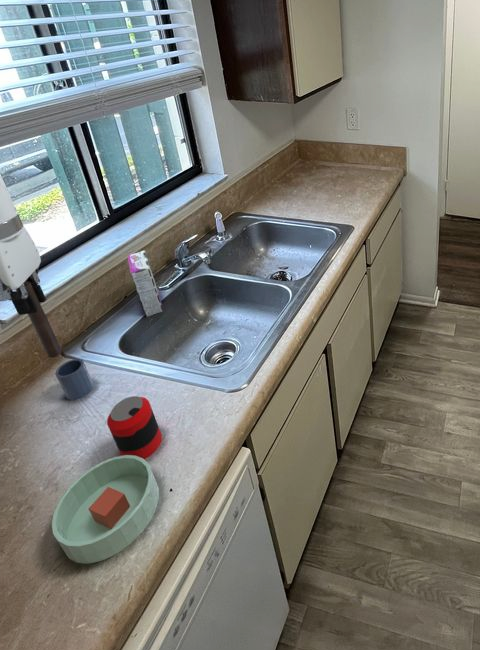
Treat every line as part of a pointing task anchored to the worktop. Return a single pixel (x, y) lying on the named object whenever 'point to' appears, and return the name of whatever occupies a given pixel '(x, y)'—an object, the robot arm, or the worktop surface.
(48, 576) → the worktop surface
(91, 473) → the bowl
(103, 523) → the block
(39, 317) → the stirring stick
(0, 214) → the robot arm
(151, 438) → the soda can
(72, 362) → the utensil holder
